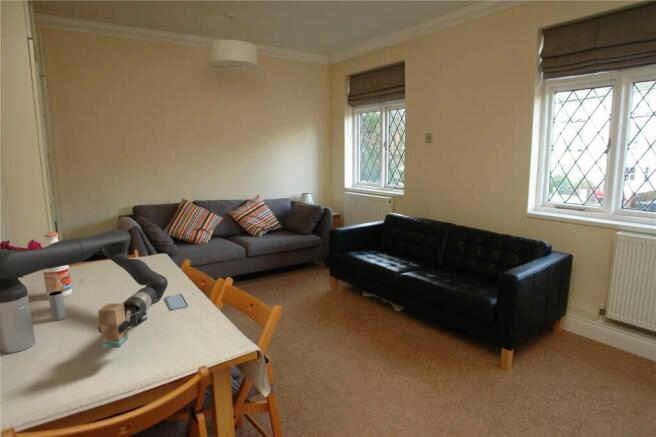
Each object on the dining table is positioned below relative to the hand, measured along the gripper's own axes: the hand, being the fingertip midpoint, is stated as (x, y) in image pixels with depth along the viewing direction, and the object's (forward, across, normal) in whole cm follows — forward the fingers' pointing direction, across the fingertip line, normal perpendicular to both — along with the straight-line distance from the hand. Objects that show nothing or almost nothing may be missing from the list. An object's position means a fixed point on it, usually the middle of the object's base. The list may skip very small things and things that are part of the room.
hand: (110, 330), depth 119 cm
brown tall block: (-2, 0, +7) cm, 7 cm away
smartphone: (-47, -2, -12) cm, 49 cm away
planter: (-34, +38, -12) cm, 52 cm away
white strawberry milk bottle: (-58, +53, -12) cm, 79 cm away
